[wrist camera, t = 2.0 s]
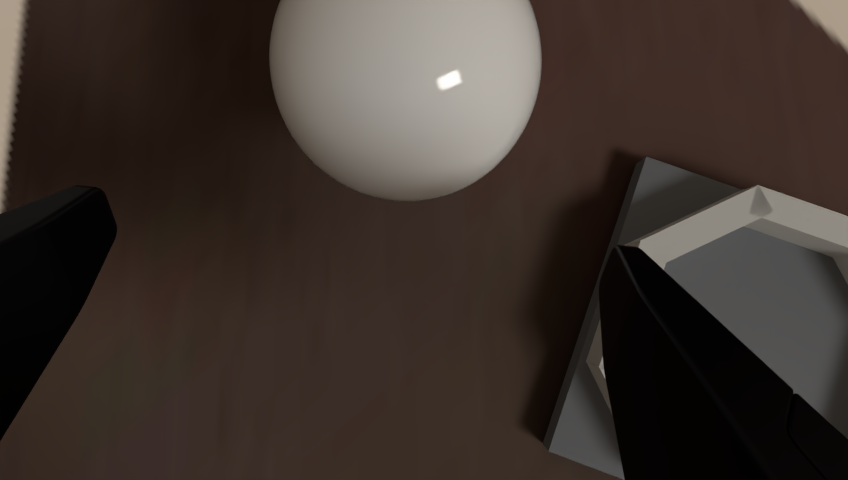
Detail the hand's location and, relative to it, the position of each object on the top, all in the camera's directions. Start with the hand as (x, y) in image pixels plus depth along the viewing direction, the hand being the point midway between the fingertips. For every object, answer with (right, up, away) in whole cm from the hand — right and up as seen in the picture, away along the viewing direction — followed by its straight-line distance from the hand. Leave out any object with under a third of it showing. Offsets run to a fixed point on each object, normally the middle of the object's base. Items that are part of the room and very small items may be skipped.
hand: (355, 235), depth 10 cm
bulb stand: (+13, -4, +10) cm, 17 cm away
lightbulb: (+1, +3, +11) cm, 12 cm away
